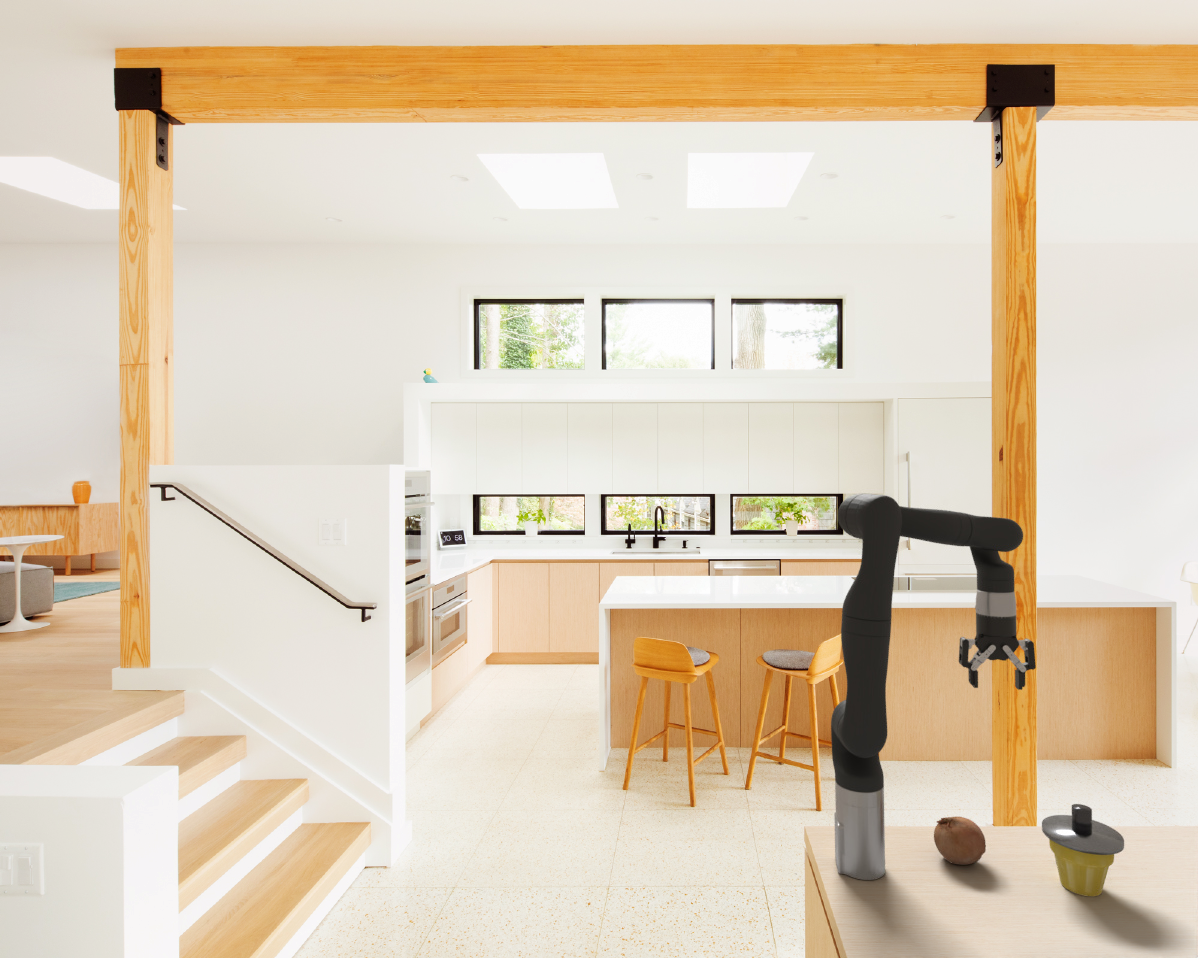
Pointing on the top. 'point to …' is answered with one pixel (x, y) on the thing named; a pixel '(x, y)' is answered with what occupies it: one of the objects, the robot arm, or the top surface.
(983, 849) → the onion
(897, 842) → the top surface
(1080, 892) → the plant pot
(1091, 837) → the lid
